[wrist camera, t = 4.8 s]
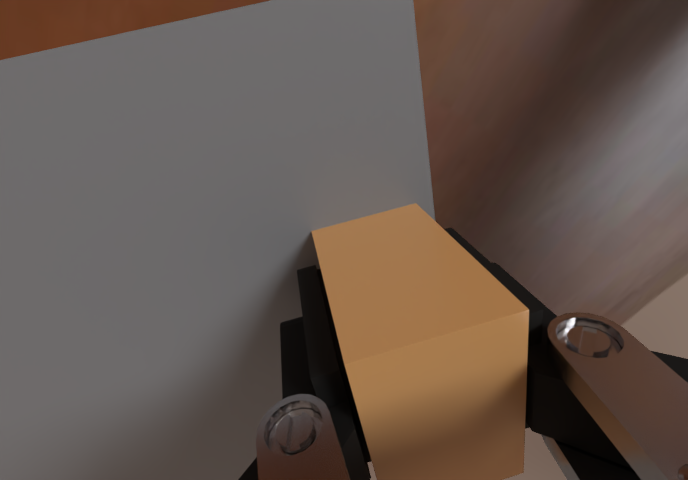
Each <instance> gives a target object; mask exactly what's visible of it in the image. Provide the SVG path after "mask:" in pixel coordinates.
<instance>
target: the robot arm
mask: <svg viewBox="0 0 688 480" xmlns="http://www.w3.org/2000/svg"><path fill="white" fill-rule="evenodd" d="M444 230H445V231H446V232H447V233H448V234H449V235H450V236H451V237H453V238H454V239H455V240H456V241H457V242H458V243H459V244H460V245H461V246H462V247H463V248H464V249H465V250H466V251H467V252H468V253H470V254H471V255H472V256H473V257H474V258H475V259H476V260H477V261H478V262H479V263H480V264H481V265H482V266H483V267H484V268H485V269H487V270H488V271H489V272H490V273H491V274H492V275H493V276H494V277H495V278H496V279H497V280H498V281H499V282H500V283H501V284H502V285H504V286H505V287H506V288H507V289H508V290H509V291H510V292H511V293H512V294H513V295H514V296H515V297H516V298H517V299H518V300H519V301H520V302H522V303H523V304H524V305H525V306H526V307H527V308H528V309H529V329H528V358H527V387H526V415H525V428H529V427H530V428H531V430H532V431H534V432H536V433H539V434H541V435H542V437H543V440H544V442H545V444H546V446H547V447H548V449H549V451H550V452H551V454H552V456H553V457H554V459H555V460H556V462H557V464H558V465H559V467H560V468H561V470H562V472H563V473H564V475H565V477H566V478H567V480H688V359H684V358H681V357H676V356H672V355H667V354H663V353H658V352H653V351H650V350H648V348H646V347H645V346H644V345H643V344H642V343H641V342H639V341H638V340H637V339H636V338H635V337H634V336H632V335H631V334H630V333H629V332H628V331H627V330H625V329H624V328H623V327H621V326H620V325H618V324H617V323H615V322H614V321H612V320H609V319H607V318H605V317H602V316H598V315H594V314H590V313H578V312H576V313H567V314H563V315H561V316H558V317H557V316H556V315H555V314H554V313H553V312H552V311H550V310H549V309H548V308H547V307H546V306H545V305H544V304H542V303H541V302H540V301H539V300H538V299H537V298H536V297H534V296H533V295H532V294H531V293H530V292H529V291H527V290H526V289H525V288H524V287H523V286H522V285H521V284H519V283H518V282H517V281H516V280H515V279H514V278H513V277H511V276H510V275H509V274H508V273H507V272H506V271H505V270H503V269H502V268H501V267H500V266H499V265H497V264H496V263H490V262H489V261H488V260H487V259H486V258H485V257H484V256H483V255H482V254H480V253H479V252H478V251H477V250H476V249H475V248H474V247H473V246H471V245H470V244H469V243H468V242H467V241H466V240H465V239H464V238H463V237H461V236H460V235H459V234H458V233H457V232H456V231H455V230H454V229H452V228H448V229H444ZM297 277H298V285H299V293H300V300H301V308H302V317H298V318H295V319H291V320H288V321H284V322H281V323H280V343H281V371H282V399H283V400H281V401H279V402H277V403H276V404H275V405H274V406H272V407H271V408H270V409H269V410H268V411H267V413H266V414H265V415H264V417H263V418H262V419H261V422H260V424H259V426H258V429H257V435H256V451H257V457H256V458H255V460H254V461H253V462H252V463H251V464H250V466H249V467H248V468H247V469H246V471H245V472H244V473H243V474H242V476H241V477H240V478H239V479H238V480H370V478H371V476H370V473H369V468H368V464H367V462H370V461H372V460H371V457H370V453H369V450H368V446H367V443H366V439H365V436H364V432H363V429H362V425H361V422H360V418H359V414H358V411H357V407H356V404H355V400H354V397H353V393H352V390H351V386H350V383H349V379H348V376H347V372H346V369H345V365H344V361H343V357H342V353H341V349H340V345H339V341H338V337H337V333H336V329H335V325H334V321H333V317H332V313H331V309H330V305H329V301H328V296H327V292H326V288H325V284H324V280H323V276H322V272H321V269H317V268H316V265H313V266H309V267H306V268H302V269H298V270H297Z"/></svg>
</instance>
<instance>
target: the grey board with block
mask: <svg viewBox="0 0 688 480" xmlns="http://www.w3.org/2000/svg"><path fill="white" fill-rule="evenodd" d="M313 265H316V268H317V269H321V272H322V276H323V280H324V284H325V288H326V292H327V296H328V301H329V305H330V309H331V313H332V317H333V321H334V325H335V329H336V333H337V337H338V341H339V345H340V349H341V353H342V357H343V361H344V365H345V369H346V372H347V376H348V379H349V383H350V386H351V390H352V393H353V397H354V400H355V404H356V407H357V411H358V414H359V418H360V422H361V425H362V429H363V432H364V436H365V439H366V443H367V446H368V450H369V453H370V457H371V460H372V463H373V467H374V471H375V474H376V477H377V480H502V479H505V478H509V477H512V476H515V475H518V474H520V473H523V472H524V443H525V442H524V441H525V415H526V387H527V358H528V329H529V309H528V308H527V307H526V306H525V305H524V304H523V303H522V302H520V301H519V300H518V299H517V298H516V297H515V296H514V295H513V294H512V293H511V292H510V291H509V290H508V289H507V288H506V287H505V286H504V285H502V284H501V283H500V282H499V281H498V280H497V279H496V278H495V277H494V276H493V275H492V274H491V273H490V272H489V271H488V270H487V269H485V268H484V267H483V266H482V265H481V264H480V263H479V262H478V261H477V260H476V259H475V258H474V257H473V256H472V255H471V254H470V253H468V252H467V251H466V250H465V249H464V248H463V247H462V246H461V245H460V244H459V243H458V242H457V241H456V240H455V239H454V238H453V237H451V236H450V235H449V234H448V233H447V232H446V231H445V230H444V229H443V228H442V227H441V226H440V225H439V224H438V223H437V222H436V221H435V214H434V204H433V194H432V184H431V174H430V164H429V154H428V144H427V134H426V124H425V114H424V104H423V94H422V84H421V74H420V64H419V54H418V45H417V35H416V25H415V15H414V5H413V0H271V1H267V2H262V3H258V4H253V5H248V6H244V7H239V8H235V9H230V10H226V11H221V12H217V13H212V14H208V15H203V16H199V17H194V18H190V19H185V20H181V21H176V22H172V23H167V24H163V25H158V26H154V27H149V28H145V29H140V30H136V31H131V32H126V33H122V34H117V35H113V36H108V37H104V38H99V39H95V40H90V41H86V42H81V43H77V44H72V45H68V46H63V47H59V48H54V49H50V50H45V51H41V52H36V53H32V54H27V55H23V56H18V57H14V58H9V59H4V60H0V480H238V479H239V478H240V477H241V476H242V474H243V473H244V472H245V471H246V469H247V468H248V467H249V466H250V464H251V463H252V462H253V461H254V460H255V458H256V457H257V451H256V435H257V429H258V426H259V424H260V422H261V419H262V418H263V417H264V415H265V414H266V413H267V411H268V410H269V409H270V408H271V407H272V406H274V405H275V404H276V403H277V402H279V401H281V400H283V399H282V371H281V343H280V323H281V322H284V321H288V320H291V319H295V318H298V317H302V308H301V300H300V293H299V285H298V277H297V270H298V269H302V268H306V267H309V266H313Z"/></svg>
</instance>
